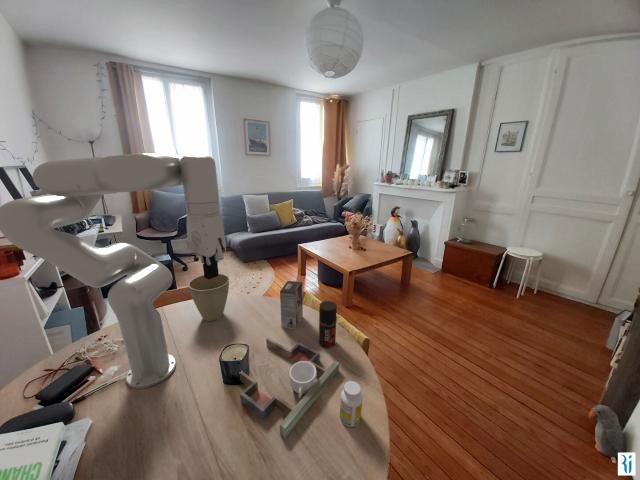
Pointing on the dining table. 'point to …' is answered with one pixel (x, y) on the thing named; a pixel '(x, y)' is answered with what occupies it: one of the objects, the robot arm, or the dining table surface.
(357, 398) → the supplement bottle
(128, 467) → the dining table surface
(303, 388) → the teacup
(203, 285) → the plant pot
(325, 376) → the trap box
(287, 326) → the coffee box
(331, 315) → the deodorant
